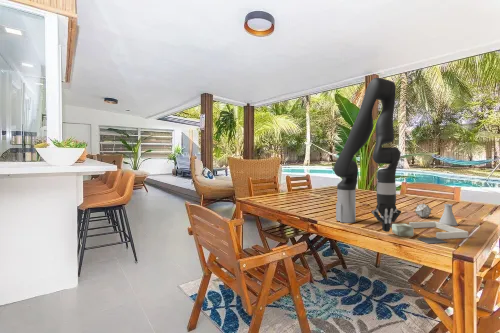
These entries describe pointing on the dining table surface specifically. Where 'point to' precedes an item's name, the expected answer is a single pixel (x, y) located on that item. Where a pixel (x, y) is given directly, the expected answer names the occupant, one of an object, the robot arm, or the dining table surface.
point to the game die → (423, 210)
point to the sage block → (402, 229)
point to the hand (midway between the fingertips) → (386, 231)
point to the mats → (430, 240)
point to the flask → (448, 216)
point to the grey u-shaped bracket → (451, 230)
